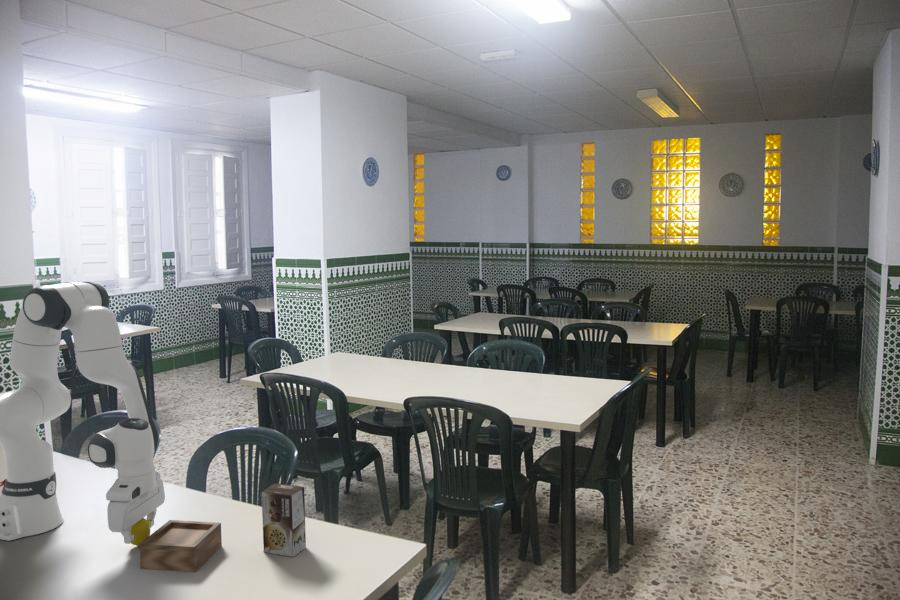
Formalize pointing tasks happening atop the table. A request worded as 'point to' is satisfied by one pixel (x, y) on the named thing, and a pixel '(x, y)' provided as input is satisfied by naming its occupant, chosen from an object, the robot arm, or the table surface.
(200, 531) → the walnut base
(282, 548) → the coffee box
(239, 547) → the table surface
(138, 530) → the lemon
